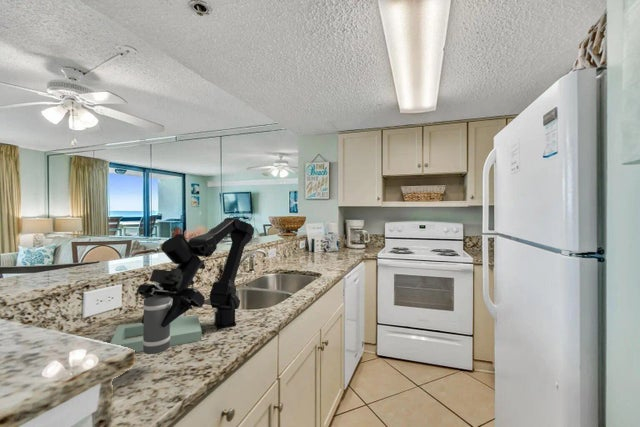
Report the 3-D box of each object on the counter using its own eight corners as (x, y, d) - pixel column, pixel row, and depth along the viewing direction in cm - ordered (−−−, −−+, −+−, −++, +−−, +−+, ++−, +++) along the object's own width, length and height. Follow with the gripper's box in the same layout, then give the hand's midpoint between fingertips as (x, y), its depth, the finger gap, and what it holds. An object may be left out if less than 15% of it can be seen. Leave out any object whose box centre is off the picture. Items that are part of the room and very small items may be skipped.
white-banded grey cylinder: (170, 341, 78) (170, 294, 78) (170, 351, 73) (170, 300, 73) (143, 345, 75) (144, 297, 75) (141, 356, 70) (142, 303, 70)
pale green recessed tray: (197, 322, 104) (197, 314, 104) (201, 340, 90) (201, 330, 90) (117, 335, 93) (118, 325, 93) (108, 357, 79) (108, 346, 79)
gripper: (142, 255, 80) (102, 306, 70) (198, 258, 75) (164, 314, 65) (164, 276, 88) (131, 325, 77) (216, 281, 83) (188, 335, 72)
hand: (152, 325), depth 73 cm, fingers closed on white-banded grey cylinder, 6 cm apart
